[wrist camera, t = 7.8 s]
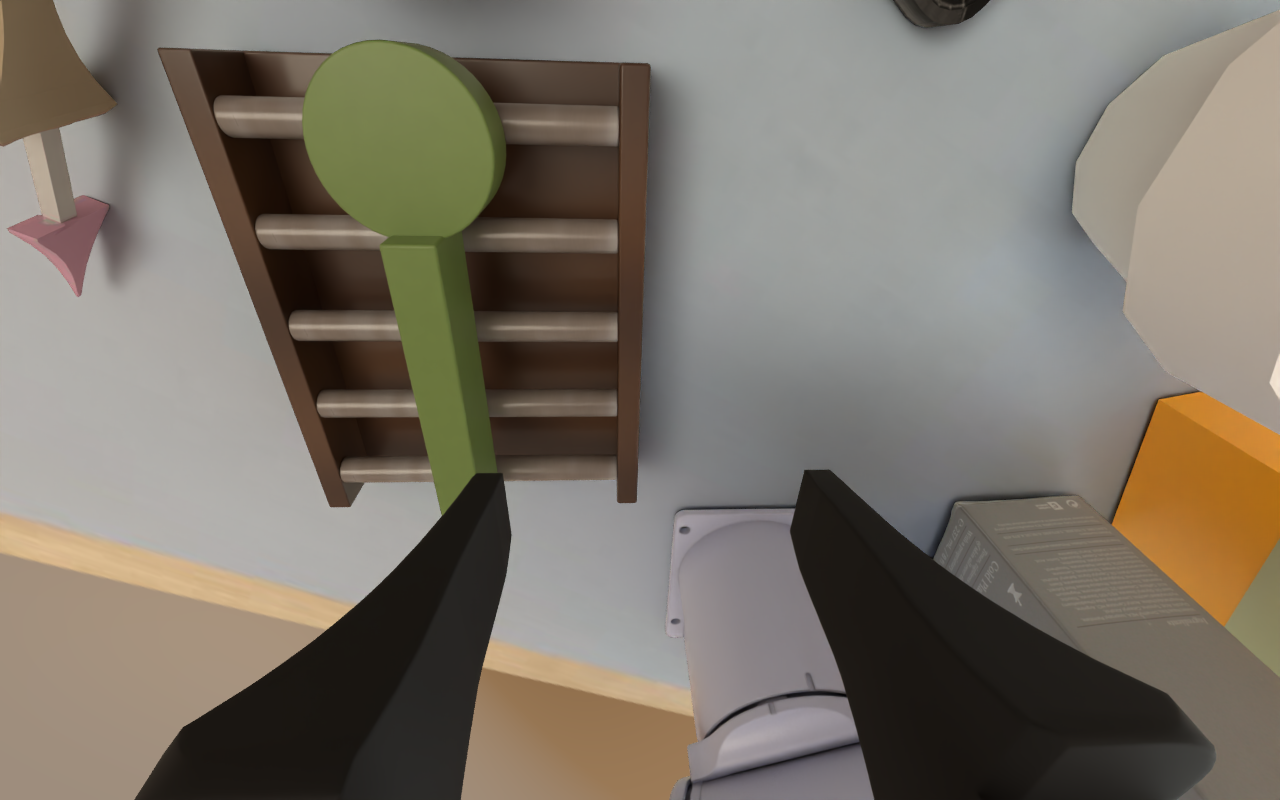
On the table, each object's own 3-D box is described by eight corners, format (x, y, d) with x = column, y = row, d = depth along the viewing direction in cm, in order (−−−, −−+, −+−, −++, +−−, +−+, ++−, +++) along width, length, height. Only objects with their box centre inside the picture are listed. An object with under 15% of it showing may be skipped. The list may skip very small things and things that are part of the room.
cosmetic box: (951, 495, 26) (1315, 955, 13) (1094, 489, 26) (1602, 934, 13) (908, 607, 30) (1142, 1033, 17) (1030, 600, 31) (1356, 1016, 17)
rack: (634, 457, 24) (637, 503, 22) (359, 459, 23) (329, 507, 21) (644, 63, 16) (651, 63, 14) (230, 50, 15) (155, 47, 13)
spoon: (539, 484, 21) (530, 534, 19) (423, 485, 20) (400, 536, 18) (496, 45, 13) (474, 41, 11) (313, 39, 13) (252, 34, 11)
